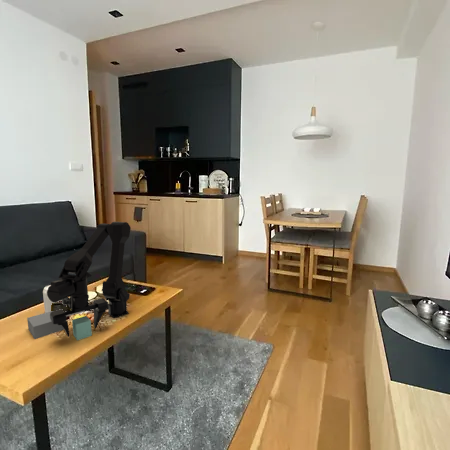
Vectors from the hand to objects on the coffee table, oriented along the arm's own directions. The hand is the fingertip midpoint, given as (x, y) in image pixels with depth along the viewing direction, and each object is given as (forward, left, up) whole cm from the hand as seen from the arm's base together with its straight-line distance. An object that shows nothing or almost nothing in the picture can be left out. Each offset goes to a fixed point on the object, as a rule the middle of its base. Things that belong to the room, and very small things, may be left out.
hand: (82, 332), depth 109 cm
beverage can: (+3, -27, -1) cm, 27 cm away
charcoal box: (+9, -14, -1) cm, 17 cm away
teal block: (0, 0, -1) cm, 1 cm away
